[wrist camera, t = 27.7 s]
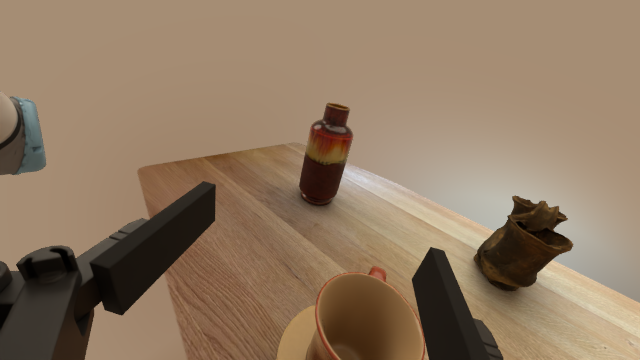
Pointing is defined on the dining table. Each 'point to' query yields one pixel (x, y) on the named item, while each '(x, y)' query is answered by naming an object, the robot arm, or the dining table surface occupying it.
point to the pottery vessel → (522, 245)
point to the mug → (364, 321)
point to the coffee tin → (297, 336)
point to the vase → (326, 155)
